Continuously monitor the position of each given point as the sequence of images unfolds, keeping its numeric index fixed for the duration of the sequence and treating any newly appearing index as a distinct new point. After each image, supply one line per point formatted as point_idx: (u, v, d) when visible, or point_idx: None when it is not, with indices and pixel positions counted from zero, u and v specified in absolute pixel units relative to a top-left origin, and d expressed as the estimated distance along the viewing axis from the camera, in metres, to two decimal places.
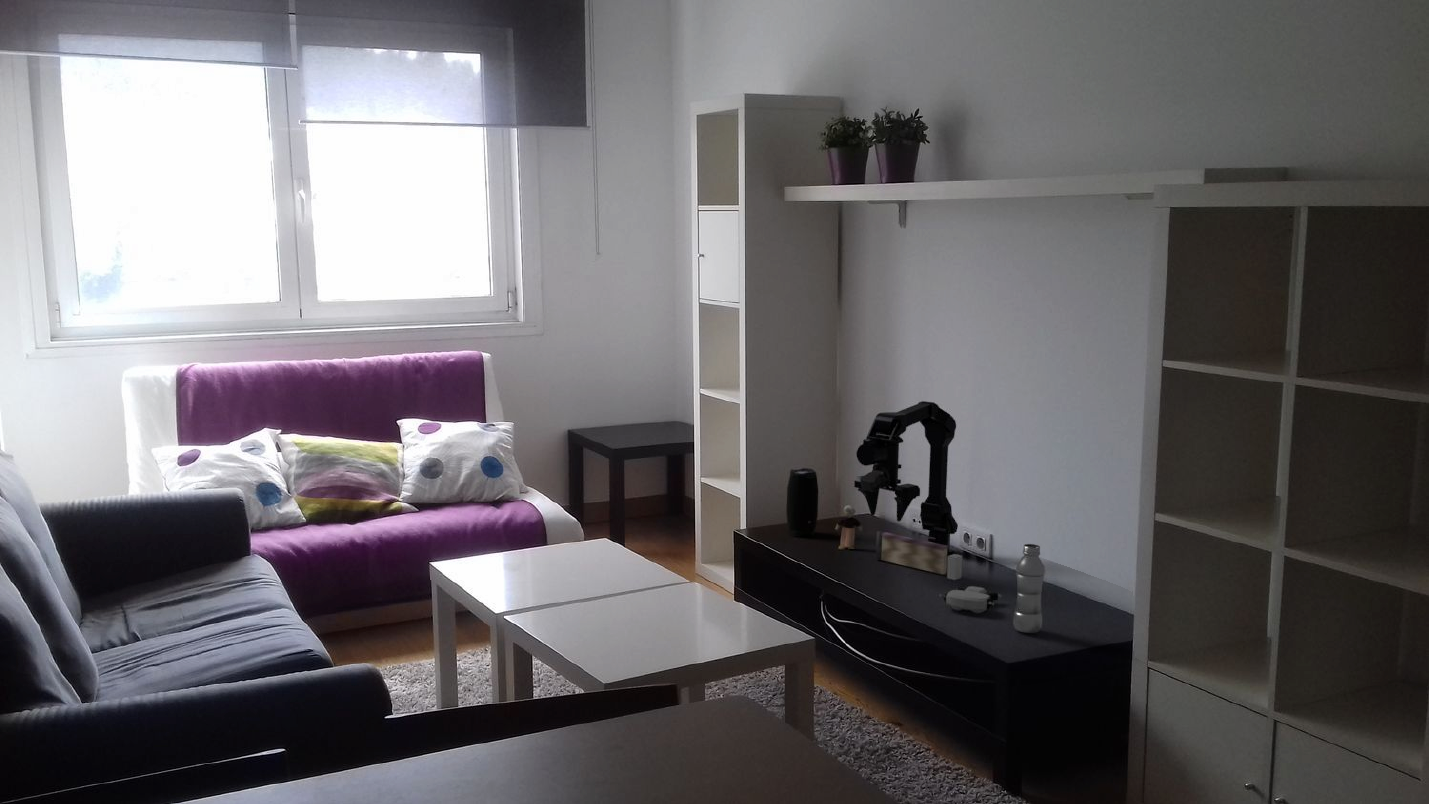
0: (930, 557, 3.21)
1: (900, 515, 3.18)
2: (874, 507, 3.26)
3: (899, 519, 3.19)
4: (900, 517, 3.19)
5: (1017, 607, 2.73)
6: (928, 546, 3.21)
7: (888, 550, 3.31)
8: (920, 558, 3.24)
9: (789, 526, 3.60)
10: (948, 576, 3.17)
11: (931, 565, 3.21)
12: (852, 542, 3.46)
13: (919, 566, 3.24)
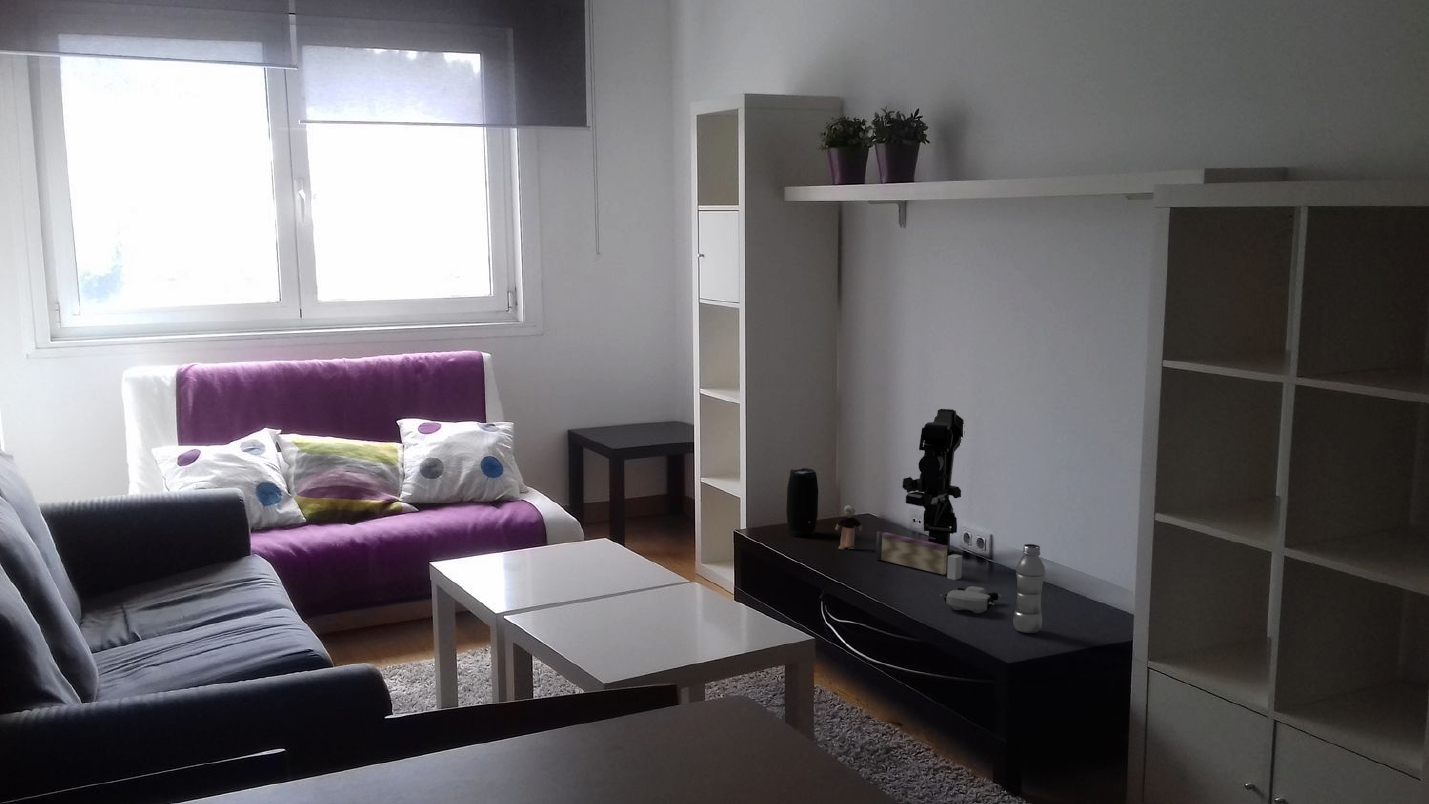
0: (930, 557, 3.21)
1: (929, 519, 3.29)
2: None
3: (930, 524, 3.29)
4: (930, 522, 3.29)
5: (1017, 607, 2.73)
6: (928, 546, 3.21)
7: (888, 550, 3.31)
8: (920, 558, 3.24)
9: (789, 526, 3.60)
10: (948, 576, 3.17)
11: (931, 565, 3.21)
12: (852, 542, 3.46)
13: (919, 566, 3.24)
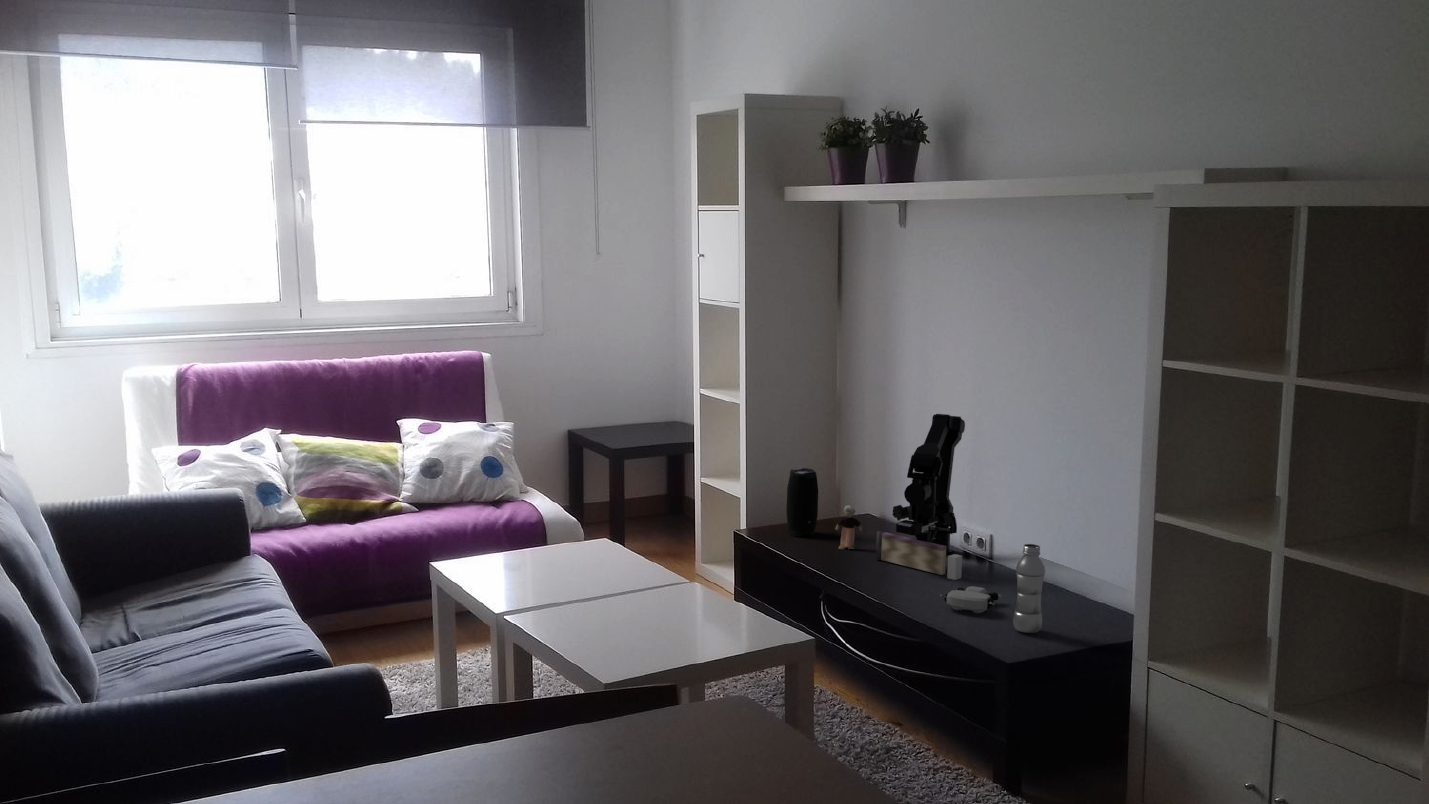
0: (929, 557, 3.21)
1: None
2: None
3: None
4: None
5: (1017, 607, 2.73)
6: (927, 546, 3.21)
7: (888, 550, 3.31)
8: (919, 558, 3.23)
9: (789, 526, 3.60)
10: (948, 576, 3.17)
11: (929, 565, 3.21)
12: (852, 542, 3.46)
13: (918, 566, 3.24)
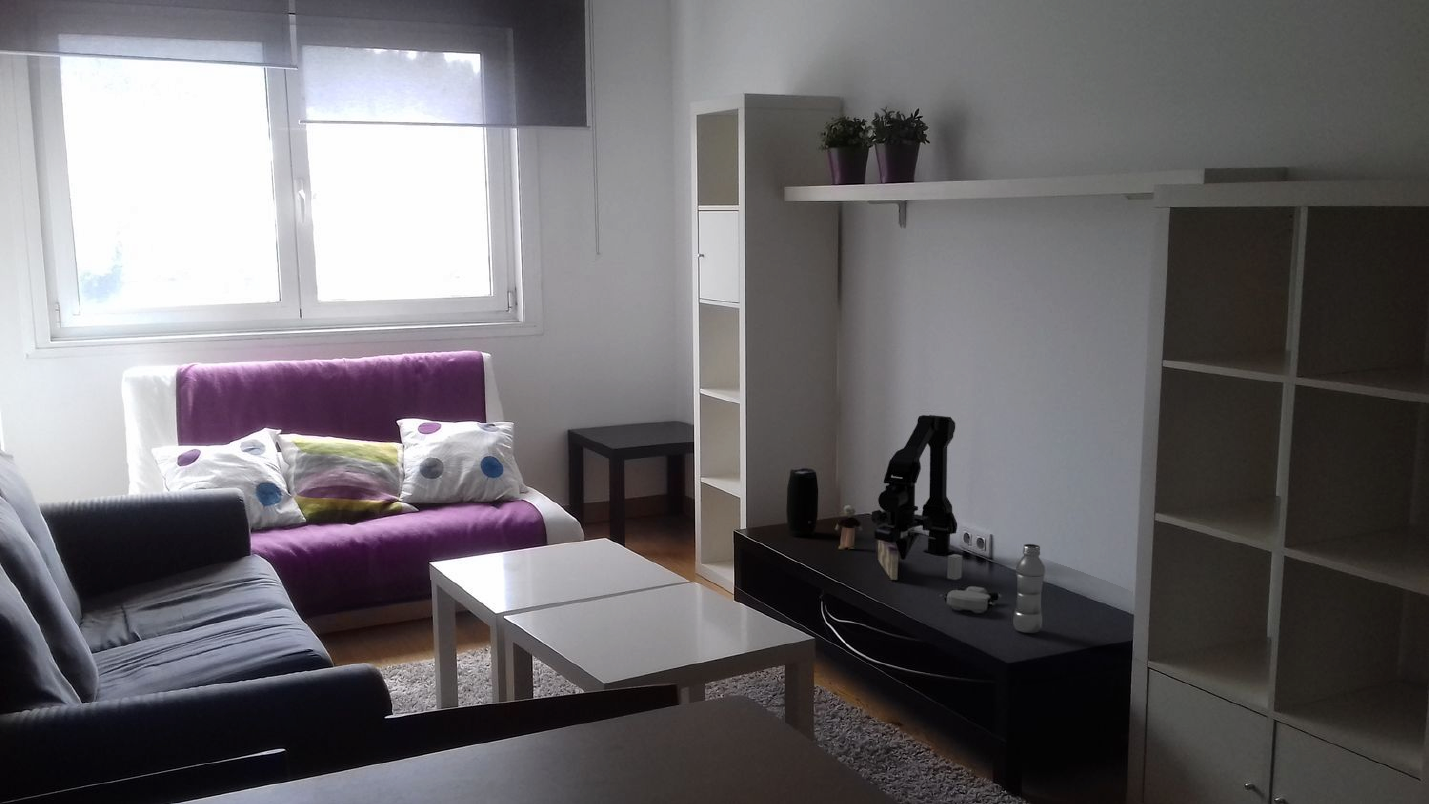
0: (889, 561, 3.17)
1: (900, 552, 3.21)
2: None
3: (901, 557, 3.21)
4: (902, 555, 3.21)
5: (1017, 607, 2.73)
6: (888, 549, 3.17)
7: (879, 550, 3.30)
8: (886, 561, 3.20)
9: (789, 526, 3.60)
10: (948, 576, 3.17)
11: (888, 569, 3.17)
12: (852, 542, 3.46)
13: (886, 569, 3.20)
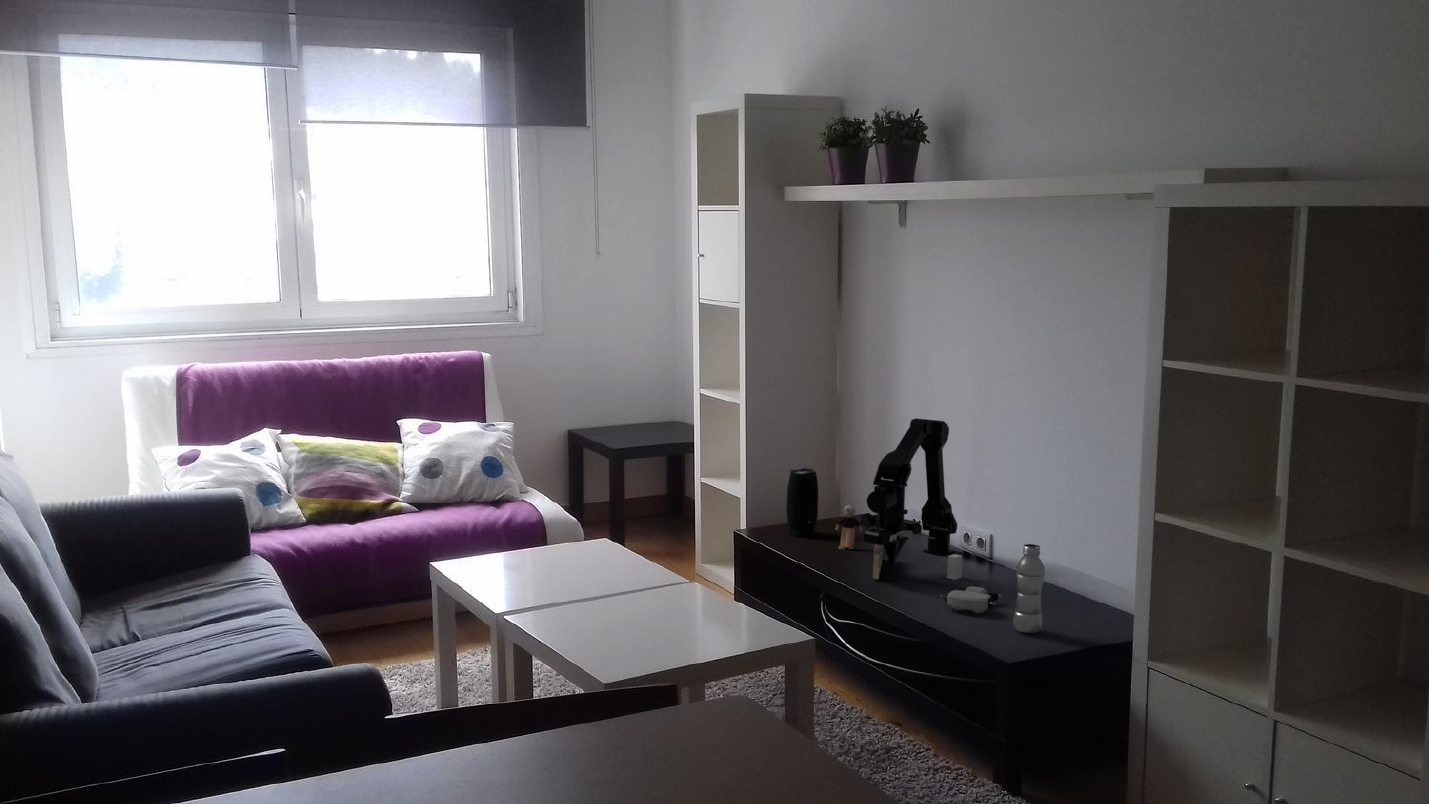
0: None
1: (888, 556, 3.17)
2: None
3: (890, 561, 3.17)
4: (890, 559, 3.17)
5: (1017, 607, 2.73)
6: None
7: None
8: None
9: (789, 526, 3.60)
10: (948, 576, 3.17)
11: None
12: (852, 542, 3.46)
13: None
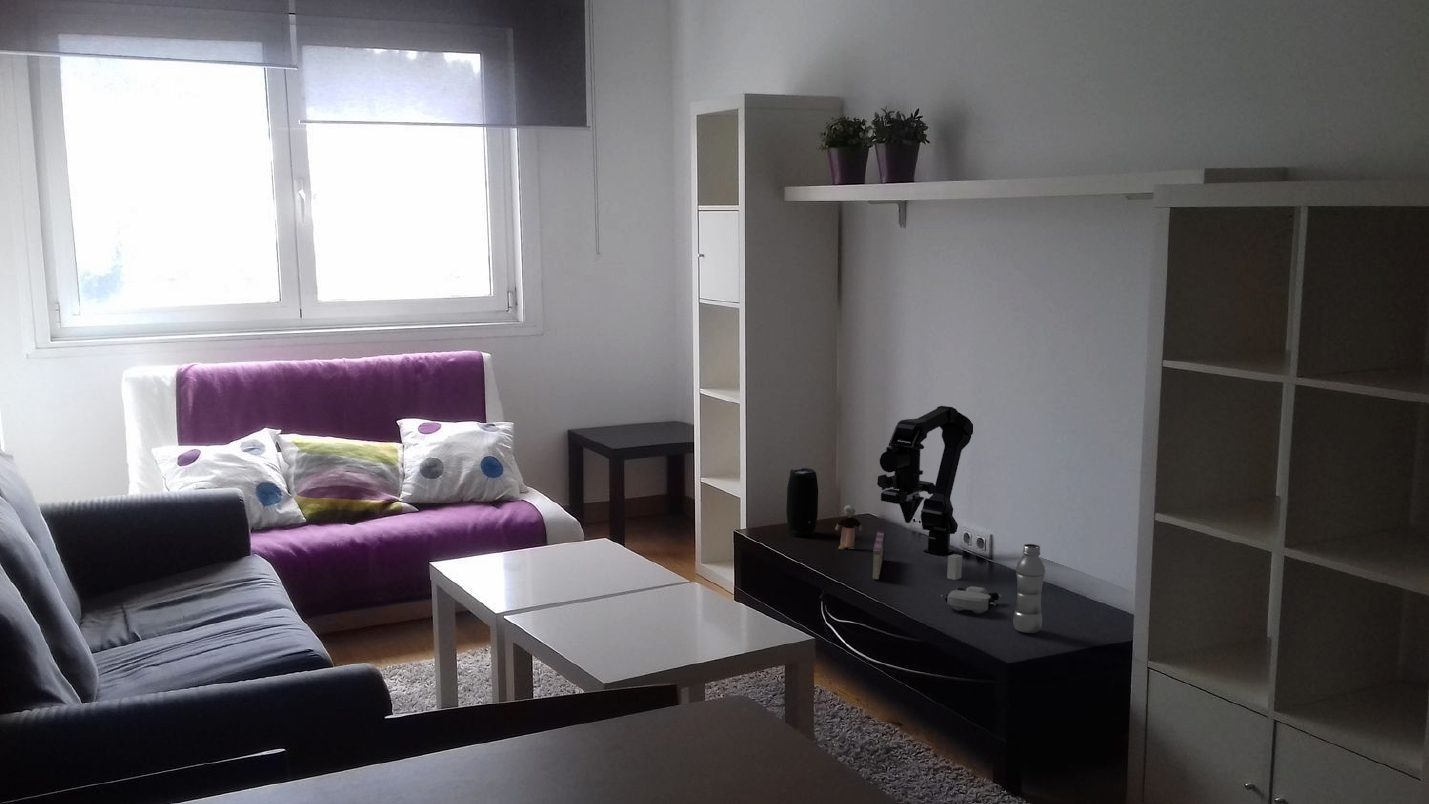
0: None
1: (904, 516, 3.30)
2: None
3: (906, 520, 3.30)
4: (906, 519, 3.30)
5: (1017, 607, 2.73)
6: None
7: None
8: None
9: (789, 526, 3.60)
10: (948, 576, 3.17)
11: None
12: (852, 542, 3.46)
13: None
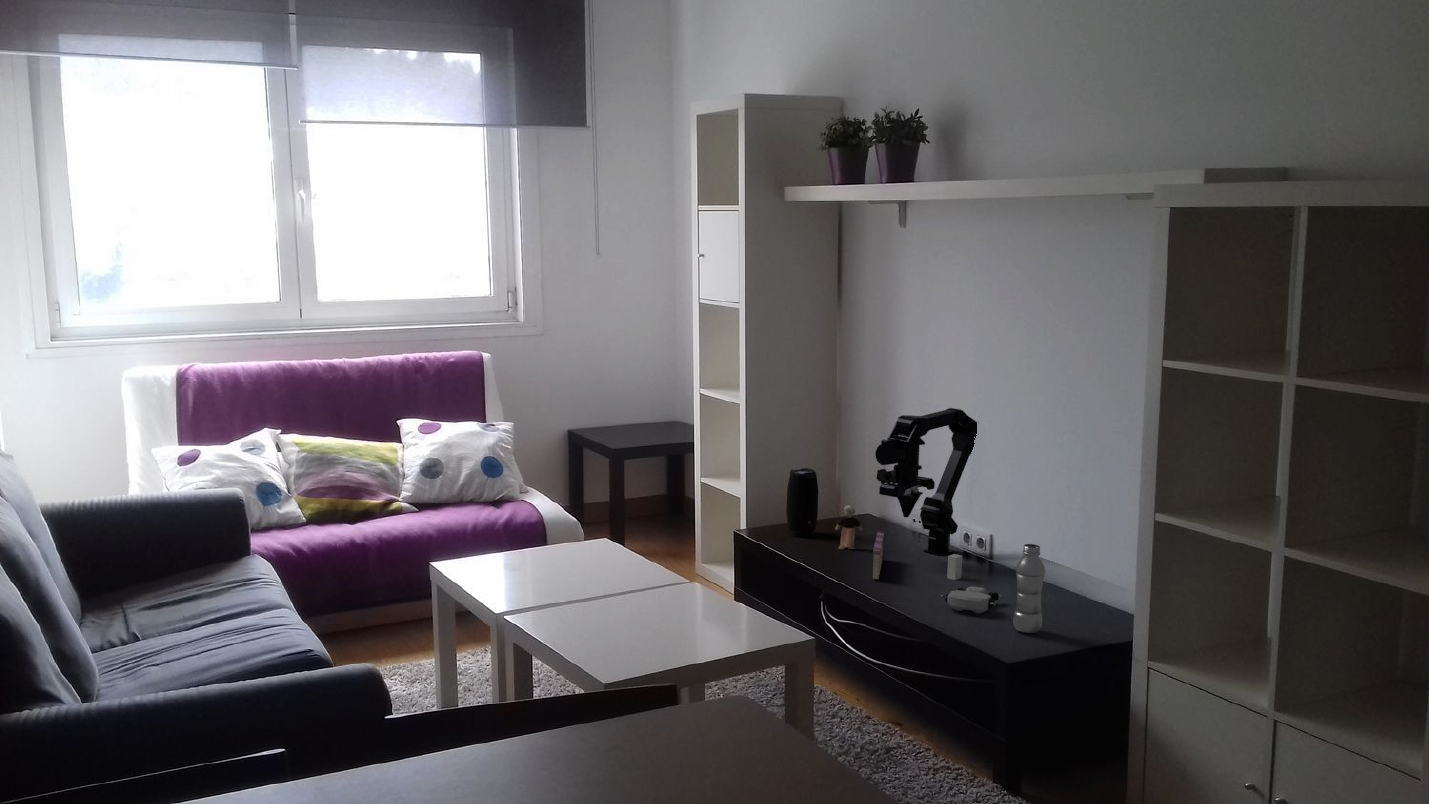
0: None
1: (903, 510, 3.33)
2: None
3: (904, 515, 3.34)
4: (904, 513, 3.33)
5: (1017, 607, 2.73)
6: None
7: None
8: None
9: (789, 526, 3.60)
10: (948, 576, 3.17)
11: None
12: (852, 542, 3.46)
13: None
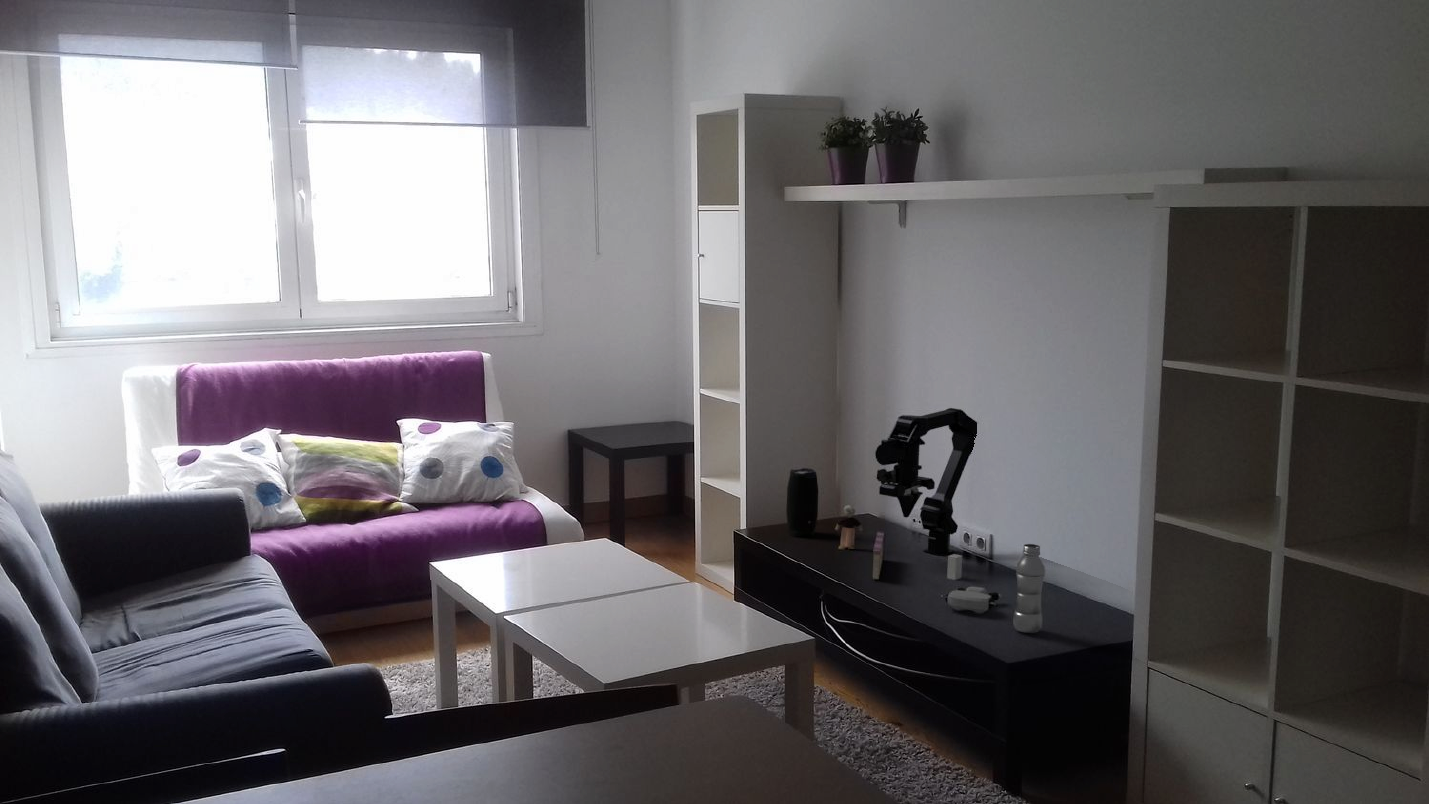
0: None
1: (903, 510, 3.33)
2: None
3: (904, 515, 3.34)
4: (904, 513, 3.33)
5: (1017, 607, 2.73)
6: None
7: None
8: None
9: (789, 526, 3.60)
10: (948, 576, 3.17)
11: None
12: (852, 542, 3.46)
13: None
